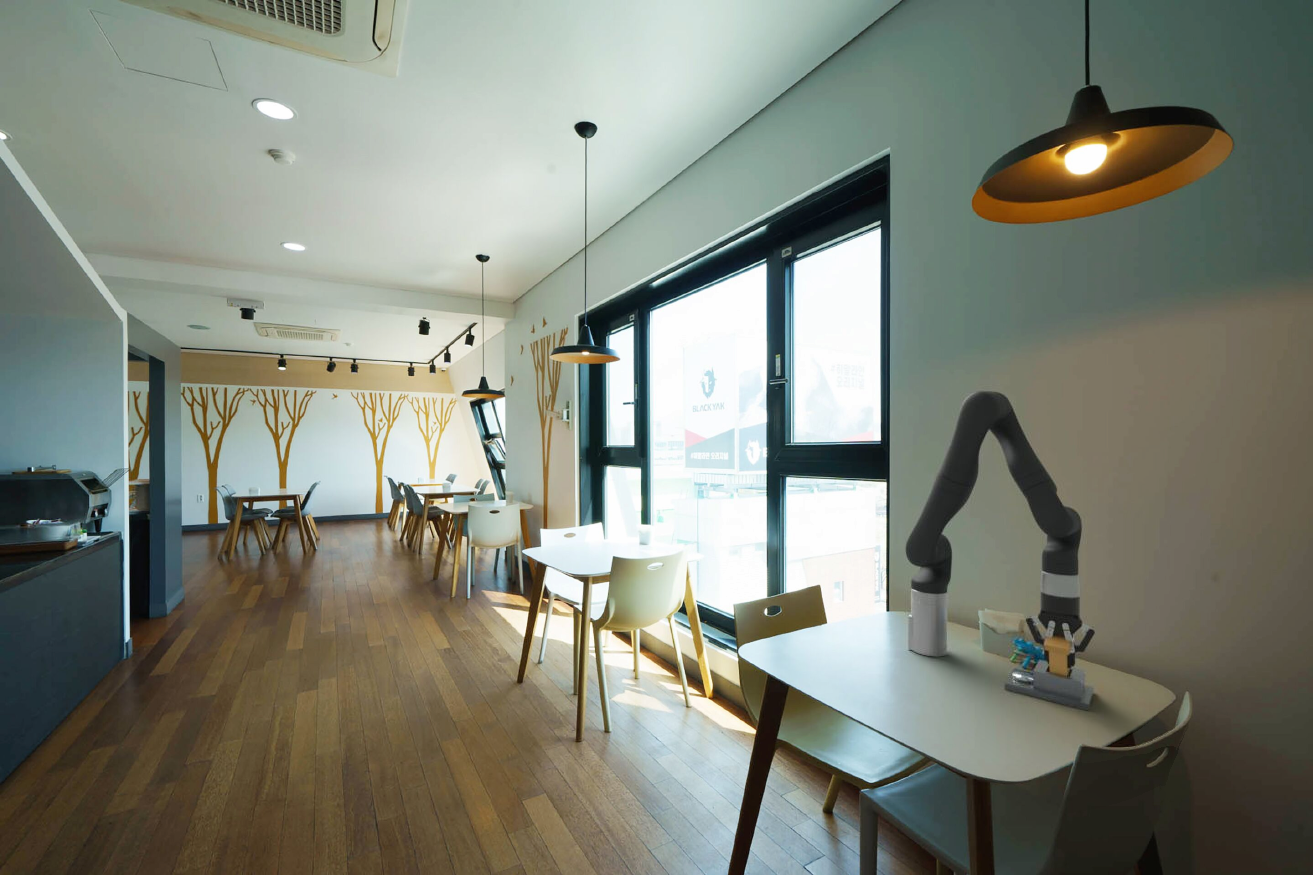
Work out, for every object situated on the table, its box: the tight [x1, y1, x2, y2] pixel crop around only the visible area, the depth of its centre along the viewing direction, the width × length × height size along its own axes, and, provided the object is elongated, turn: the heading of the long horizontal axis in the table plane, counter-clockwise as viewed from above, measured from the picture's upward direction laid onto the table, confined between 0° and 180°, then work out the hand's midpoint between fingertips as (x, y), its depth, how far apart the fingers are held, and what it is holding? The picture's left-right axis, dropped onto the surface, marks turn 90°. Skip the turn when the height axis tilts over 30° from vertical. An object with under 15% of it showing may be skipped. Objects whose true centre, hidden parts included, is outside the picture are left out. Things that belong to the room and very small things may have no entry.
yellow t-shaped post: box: [1045, 633, 1071, 677], centre depth 132 cm, size 5×6×11 cm
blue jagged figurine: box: [1010, 637, 1047, 669], centre depth 149 cm, size 11×6×10 cm
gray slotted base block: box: [1004, 660, 1094, 712], centre depth 134 cm, size 16×12×6 cm
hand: (1059, 664), depth 133 cm, fingers closed on yellow t-shaped post, 3 cm apart
